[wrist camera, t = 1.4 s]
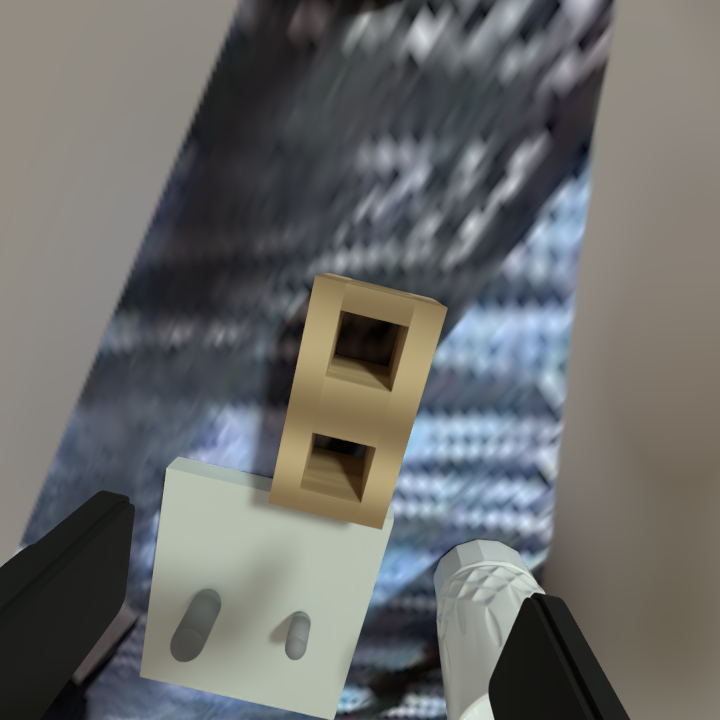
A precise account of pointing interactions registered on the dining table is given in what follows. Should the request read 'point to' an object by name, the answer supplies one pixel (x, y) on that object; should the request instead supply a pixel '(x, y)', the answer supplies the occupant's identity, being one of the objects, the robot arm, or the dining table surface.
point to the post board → (255, 592)
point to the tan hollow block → (353, 402)
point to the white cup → (476, 619)
